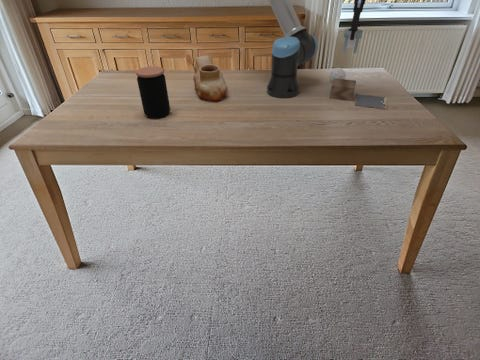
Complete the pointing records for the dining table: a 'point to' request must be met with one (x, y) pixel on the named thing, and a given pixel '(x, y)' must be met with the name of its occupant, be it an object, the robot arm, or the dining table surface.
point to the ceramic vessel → (209, 80)
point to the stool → (358, 36)
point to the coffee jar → (153, 92)
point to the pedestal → (342, 89)
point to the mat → (369, 101)
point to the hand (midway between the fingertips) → (350, 45)
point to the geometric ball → (337, 74)
